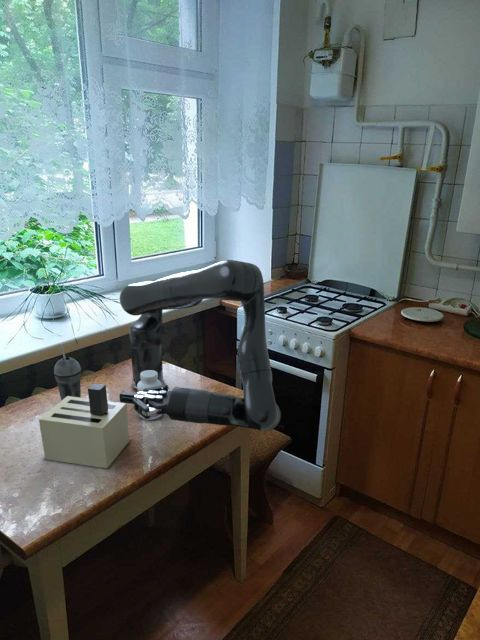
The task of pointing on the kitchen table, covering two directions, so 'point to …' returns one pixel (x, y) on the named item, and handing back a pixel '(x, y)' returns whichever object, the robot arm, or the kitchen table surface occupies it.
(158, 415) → the supplement bottle
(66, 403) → the toaster
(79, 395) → the beverage cup
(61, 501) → the kitchen table surface
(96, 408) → the slider
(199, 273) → the robot arm
